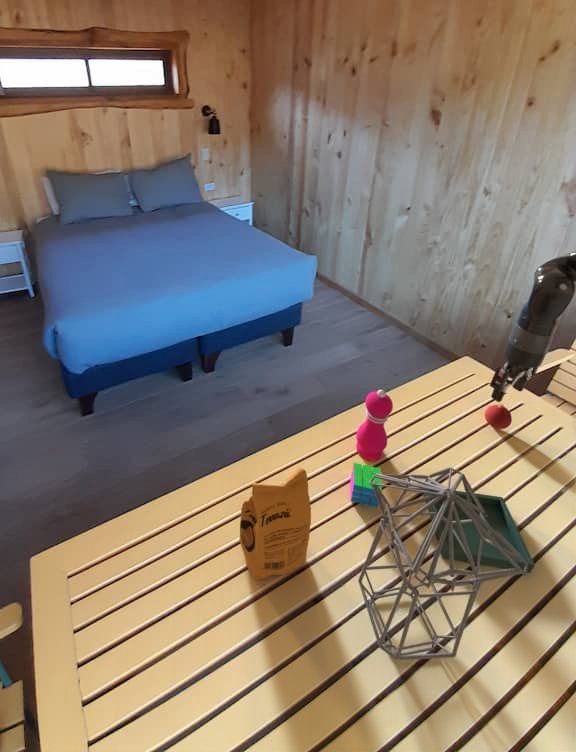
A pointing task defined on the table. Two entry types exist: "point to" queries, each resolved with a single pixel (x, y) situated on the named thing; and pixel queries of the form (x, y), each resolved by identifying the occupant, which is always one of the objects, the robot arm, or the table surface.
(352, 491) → the puzzle toy
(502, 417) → the onion
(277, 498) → the coffee package
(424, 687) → the table surface
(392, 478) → the geometric lantern
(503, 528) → the tray
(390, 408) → the pepper mill
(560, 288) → the robot arm
